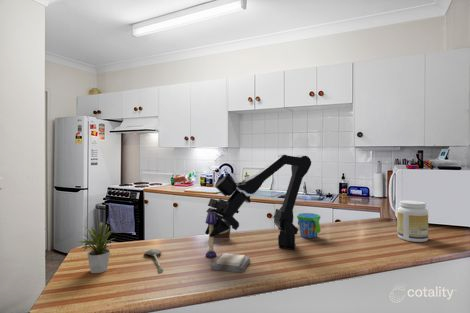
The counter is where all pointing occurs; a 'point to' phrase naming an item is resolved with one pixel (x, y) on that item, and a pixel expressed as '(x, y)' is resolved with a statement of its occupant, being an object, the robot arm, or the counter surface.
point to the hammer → (154, 253)
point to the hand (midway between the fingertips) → (208, 235)
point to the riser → (230, 263)
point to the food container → (223, 235)
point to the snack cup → (309, 224)
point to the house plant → (97, 249)
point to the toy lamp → (211, 221)
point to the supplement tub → (412, 221)
